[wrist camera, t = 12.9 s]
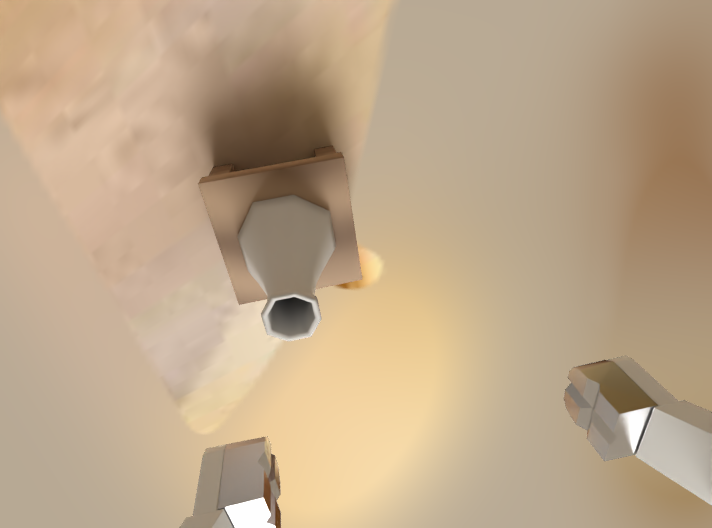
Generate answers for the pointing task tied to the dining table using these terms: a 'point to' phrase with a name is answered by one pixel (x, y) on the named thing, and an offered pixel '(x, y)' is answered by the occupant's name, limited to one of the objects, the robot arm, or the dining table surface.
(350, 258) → the walnut stand
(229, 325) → the dining table surface
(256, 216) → the flask
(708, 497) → the robot arm
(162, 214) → the dining table surface
